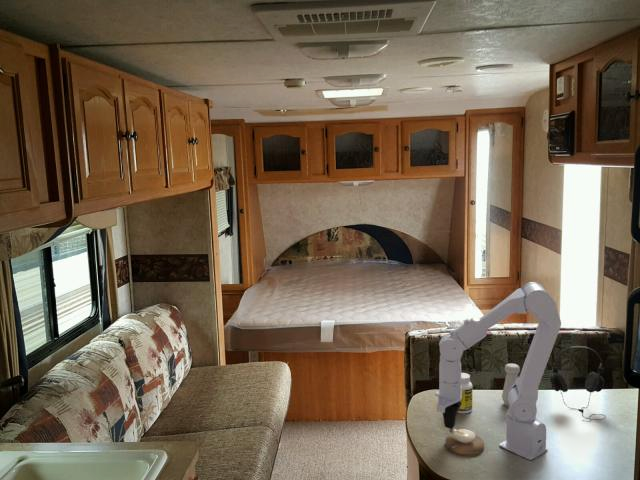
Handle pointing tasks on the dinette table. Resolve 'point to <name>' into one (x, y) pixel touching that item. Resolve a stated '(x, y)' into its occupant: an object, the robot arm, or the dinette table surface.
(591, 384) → the headphones
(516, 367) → the salt shaker
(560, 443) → the dinette table surface
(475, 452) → the base
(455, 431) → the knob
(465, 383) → the pill bottle
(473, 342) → the robot arm
